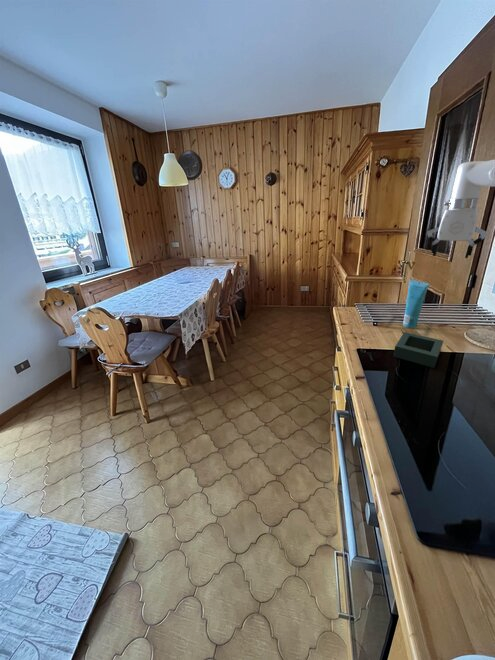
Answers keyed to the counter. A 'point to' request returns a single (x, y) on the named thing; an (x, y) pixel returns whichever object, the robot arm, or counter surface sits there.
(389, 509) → the counter surface
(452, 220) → the robot arm
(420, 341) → the dark green square tray
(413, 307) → the tube
